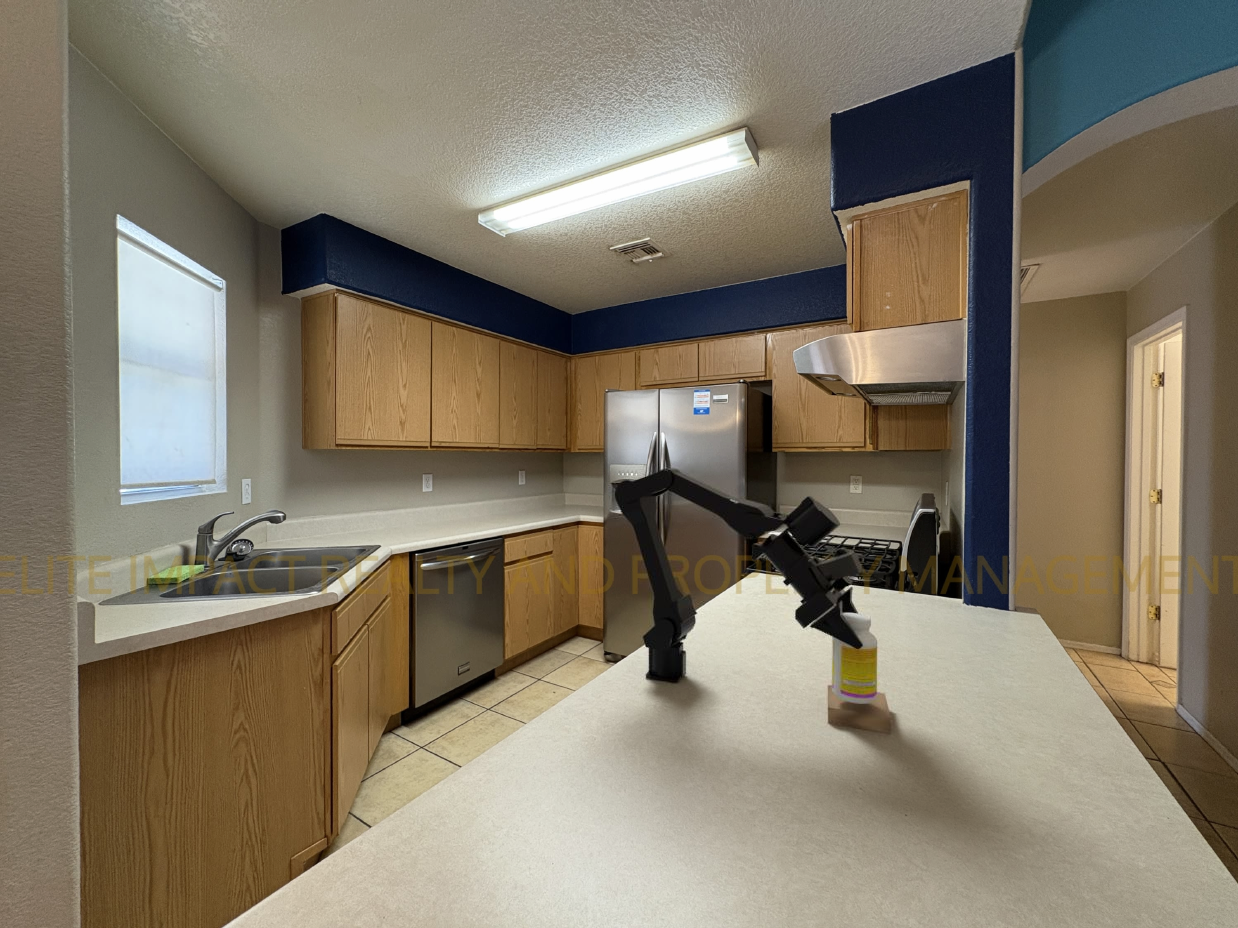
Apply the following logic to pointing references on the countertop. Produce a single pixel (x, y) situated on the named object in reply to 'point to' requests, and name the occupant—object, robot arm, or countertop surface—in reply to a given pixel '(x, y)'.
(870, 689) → the supplement bottle
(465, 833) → the countertop surface
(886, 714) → the walnut block
